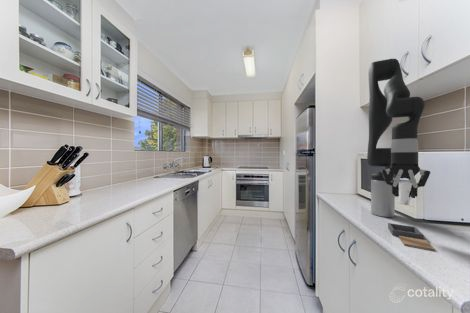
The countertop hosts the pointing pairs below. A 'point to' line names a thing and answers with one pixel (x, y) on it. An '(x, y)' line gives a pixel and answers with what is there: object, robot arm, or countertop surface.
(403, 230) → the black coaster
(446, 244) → the countertop surface
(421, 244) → the pad
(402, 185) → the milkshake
